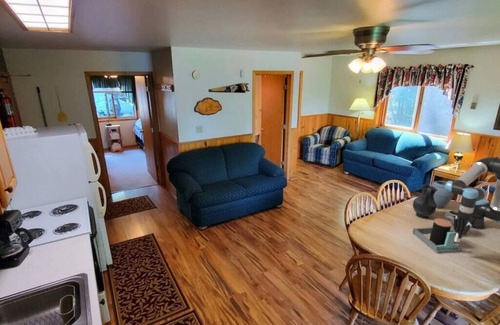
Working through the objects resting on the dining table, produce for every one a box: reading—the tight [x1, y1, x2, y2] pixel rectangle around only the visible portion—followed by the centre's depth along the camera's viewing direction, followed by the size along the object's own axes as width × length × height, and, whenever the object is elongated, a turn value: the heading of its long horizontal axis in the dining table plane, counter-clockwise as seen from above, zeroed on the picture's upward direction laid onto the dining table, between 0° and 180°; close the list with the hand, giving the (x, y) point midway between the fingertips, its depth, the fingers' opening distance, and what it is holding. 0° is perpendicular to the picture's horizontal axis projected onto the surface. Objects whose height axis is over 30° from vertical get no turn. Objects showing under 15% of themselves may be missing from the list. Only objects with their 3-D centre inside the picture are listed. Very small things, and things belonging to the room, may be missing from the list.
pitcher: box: [412, 184, 438, 220], centre depth 234 cm, size 17×21×30 cm
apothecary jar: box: [444, 209, 458, 233], centre depth 213 cm, size 12×12×18 cm
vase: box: [430, 180, 455, 209], centre depth 254 cm, size 20×20×24 cm
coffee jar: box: [428, 218, 452, 245], centre depth 200 cm, size 11×11×18 cm
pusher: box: [437, 232, 460, 250], centre depth 192 cm, size 16×2×15 cm, turn 96°
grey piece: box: [412, 226, 463, 254], centre depth 203 cm, size 19×25×4 cm
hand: (456, 241), depth 186 cm, fingers closed
